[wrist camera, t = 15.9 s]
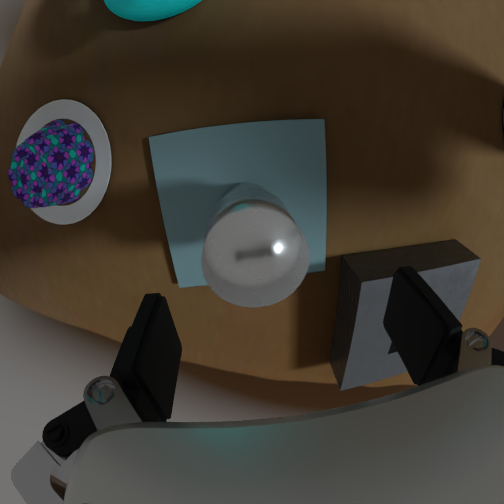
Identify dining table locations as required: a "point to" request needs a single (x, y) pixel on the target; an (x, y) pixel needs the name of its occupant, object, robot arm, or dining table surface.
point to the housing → (375, 302)
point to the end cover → (253, 248)
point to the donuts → (149, 8)
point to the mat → (239, 181)
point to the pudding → (61, 162)
